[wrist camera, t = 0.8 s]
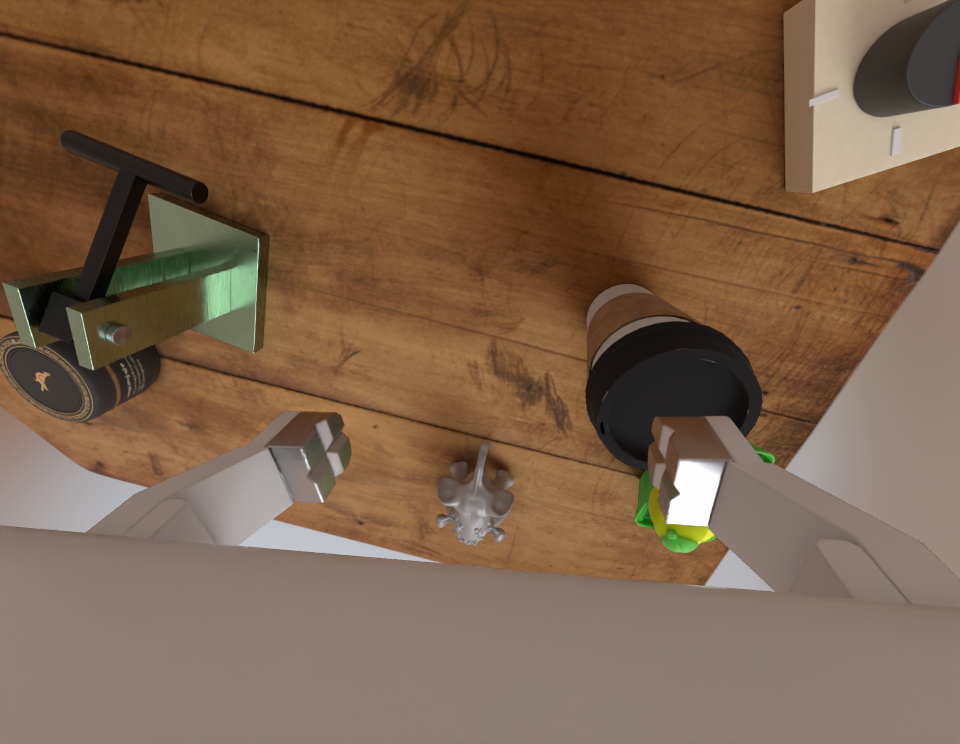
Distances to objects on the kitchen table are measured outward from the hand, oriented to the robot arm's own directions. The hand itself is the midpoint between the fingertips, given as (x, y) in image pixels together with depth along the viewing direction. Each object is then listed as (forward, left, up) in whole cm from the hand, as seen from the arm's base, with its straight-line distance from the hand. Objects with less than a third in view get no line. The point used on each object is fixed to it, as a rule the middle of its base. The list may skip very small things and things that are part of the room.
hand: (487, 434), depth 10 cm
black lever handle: (-11, -26, -15) cm, 32 cm away
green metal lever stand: (-8, -29, -24) cm, 38 cm away
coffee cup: (+7, +6, -24) cm, 26 cm away
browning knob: (-4, +22, -21) cm, 31 cm away
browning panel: (-4, +22, -24) cm, 33 cm away
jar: (-5, -46, -24) cm, 52 cm away
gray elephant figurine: (+20, -12, -24) cm, 34 cm away
